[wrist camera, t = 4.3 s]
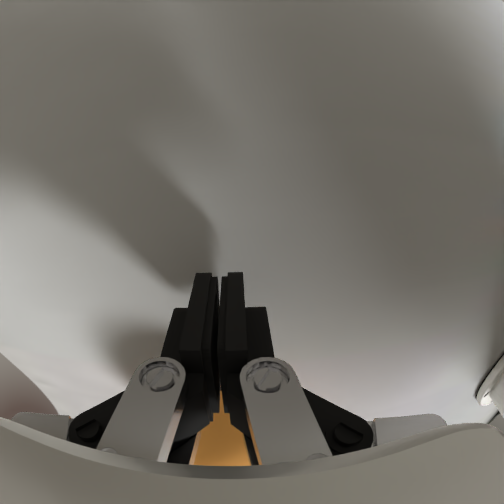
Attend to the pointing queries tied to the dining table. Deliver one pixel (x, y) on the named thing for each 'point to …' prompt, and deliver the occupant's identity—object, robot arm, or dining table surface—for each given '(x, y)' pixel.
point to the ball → (221, 443)
